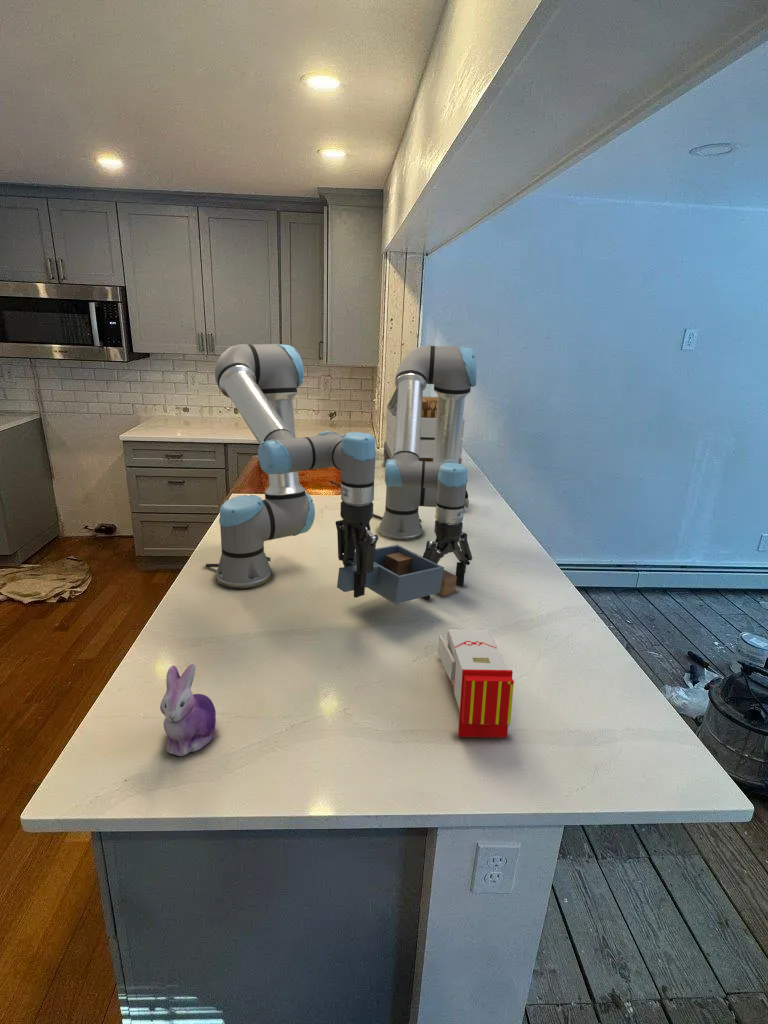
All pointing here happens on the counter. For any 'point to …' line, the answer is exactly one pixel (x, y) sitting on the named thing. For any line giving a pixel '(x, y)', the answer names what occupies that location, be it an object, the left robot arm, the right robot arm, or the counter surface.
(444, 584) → the walnut block
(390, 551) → the tray
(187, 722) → the figurine
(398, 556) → the walnut block
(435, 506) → the right robot arm
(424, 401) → the white crate
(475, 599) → the counter surface
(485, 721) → the toy
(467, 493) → the figurine character
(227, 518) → the left robot arm
